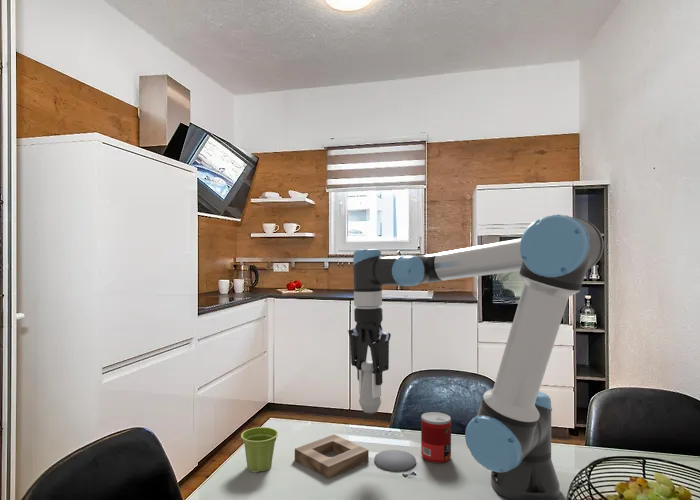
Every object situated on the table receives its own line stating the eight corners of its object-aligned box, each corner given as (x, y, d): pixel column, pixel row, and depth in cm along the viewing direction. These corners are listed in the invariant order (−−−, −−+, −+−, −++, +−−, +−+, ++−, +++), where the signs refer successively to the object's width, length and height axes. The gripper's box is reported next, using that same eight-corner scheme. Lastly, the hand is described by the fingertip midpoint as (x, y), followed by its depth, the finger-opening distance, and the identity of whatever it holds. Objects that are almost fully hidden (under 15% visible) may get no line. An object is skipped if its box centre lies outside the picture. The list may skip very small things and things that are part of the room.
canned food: (451, 465, 120) (451, 423, 120) (420, 462, 121) (420, 420, 121) (450, 452, 127) (450, 412, 127) (421, 449, 129) (421, 410, 129)
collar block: (368, 460, 122) (368, 449, 122) (328, 478, 112) (328, 466, 112) (333, 444, 132) (333, 434, 132) (294, 459, 122) (294, 448, 122)
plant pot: (256, 456, 125) (256, 424, 125) (285, 463, 121) (285, 430, 121) (233, 471, 116) (233, 437, 116) (263, 479, 112) (263, 443, 112)
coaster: (424, 461, 121) (424, 459, 121) (397, 475, 114) (397, 473, 114) (393, 448, 129) (393, 446, 129) (365, 460, 122) (365, 458, 122)
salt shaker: (355, 412, 120) (354, 362, 121) (366, 405, 125) (365, 358, 126) (374, 415, 117) (373, 364, 118) (385, 409, 122) (384, 360, 122)
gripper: (402, 307, 118) (404, 398, 118) (355, 304, 130) (357, 386, 130) (382, 310, 113) (385, 405, 113) (336, 306, 125) (337, 392, 125)
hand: (370, 395), depth 121 cm, fingers closed on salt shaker, 4 cm apart
